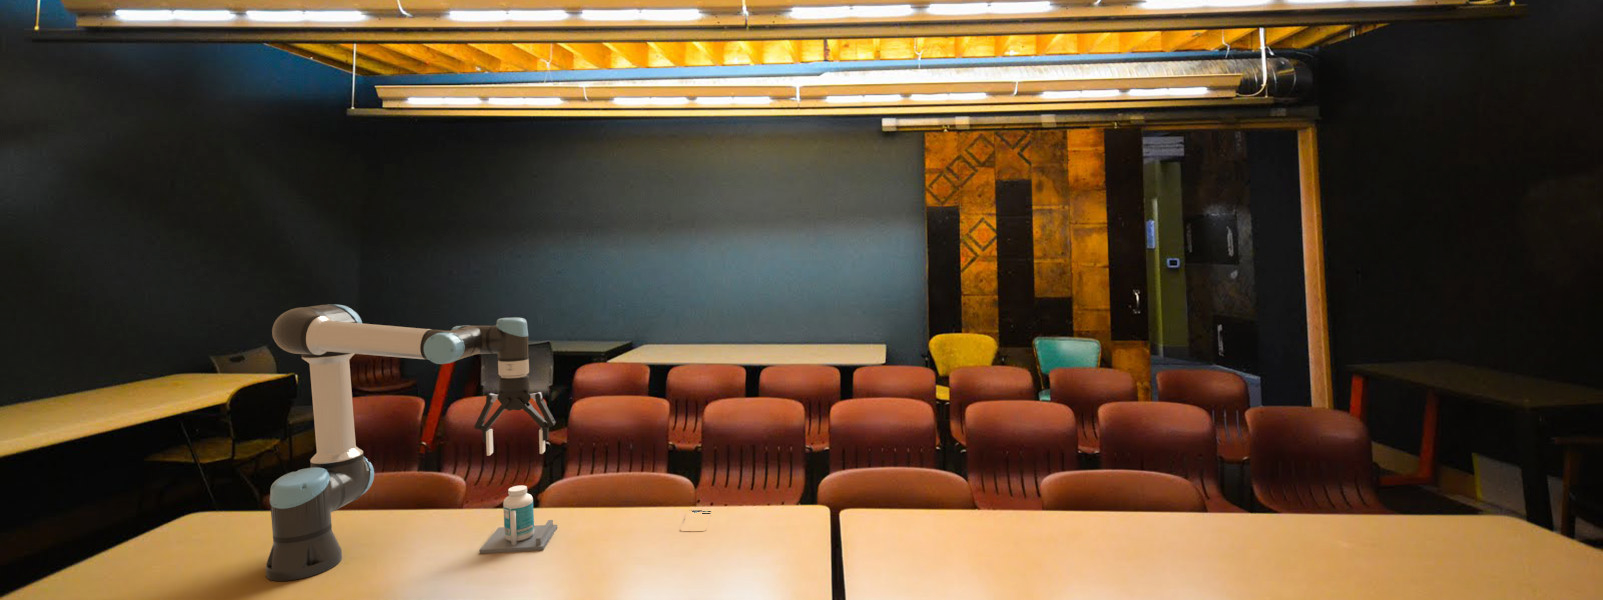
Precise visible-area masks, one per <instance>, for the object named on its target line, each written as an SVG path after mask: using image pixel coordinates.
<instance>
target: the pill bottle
mask: <svg viewBox="0 0 1603 600" xmlns="http://www.w3.org/2000/svg"><path fill="white" fill-rule="evenodd" d="M507 491H508V493H507V494H508V496H506V497H505V498H504V500H503V503H502V505H503V509H502V510H503V524H504V525H503V527H504V530H505V538H506V539H507V540H508V541H511V527H510V511H516V532H517V541H522V540H525V539H528V538H530V537H531V536H532V535H533V534H534V526H535V514H534V498H533V496H532V494H530V493H528V486H527V485H513V486H512V487H509V488H508V490H507Z"/></svg>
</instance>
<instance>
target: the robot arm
mask: <svg viewBox="0 0 1603 600" xmlns="http://www.w3.org/2000/svg"><path fill="white" fill-rule="evenodd" d="M272 325H273V326H272V329H271V332H272V334H271V335H272V339H273V340H274V343H276V345H277V346H278V347H279V348H280V349H282V350H283V351H285V352H287V353H291V354H296V355H297V354H298V355H300V356H301V359H302V360H304V361H305V362H307V363H308V364H309V373H310V375H309V376H310V384H311V397H312V409H313V420H314V423H313V424H314V433H315V434H314V435H315V447H316V448H315V449H316V453H315V454H314V455H313V456H312V457H311V458H310V459H309V461H310V462H309V463H310V467H307V468H302V469H298V470H297V471H291V472H287V473H285V474H283V475H282V476H280V477H279V478H277V479H276V480H275V481H274V482H273V483H272V484H271V486H270V491H269V492H270V495H269V504H270V514H271V515H270V516H271V517H270V518H271V527H272V529H271V530H272V546H271V549H270V552H269V556H268V559H267V561H266V565H265V577H266V578H267V579H268V580H270V581H274V582H275V581H276V582H287V581H296V580H300V579H305V578H309V577H313V576H317V575H319V574H322V573H324V572H326V571H329V570H330V569H333V568H334V567H335V566H337V565H338V564H339V563H341V561H342V559H343V551H342V548H341V546H340V544H339V542H338V540H337V537H336V535H335V534H334V532H333V527H332V513H334V512H335V511H336V510H339V509H340V508H342V507H344V506H346V505H348V504H350V503H352V502H354V501H357V500H358V499H359V498H360V497H362V495H364V494H366V493H367V492H368V490H369V489H370V488H371V486H372V485H373V483H374V479H375V468H374V466H373V464H372V463H371V461H368V460H369V459H368V458H366V456H364V450H362V449H361V448H359V447H358V446H357V445H356V433H355V431H356V429H355V419H354V406H353V405H354V403H353V392H352V380H351V377H352V376H351V368H350V367H351V365H350V361H351V359H352V357H353V356H354V355H366V356H367V355H369V356H377V357H378V356H380V357H381V356H382V357H391V358H392V357H393V358H405V359H414V360H415V359H418V360H429V361H430V362H431V363H432V364H433V363H434V364H436V365H445V364H451V363H455V362H456V361H459V360H462V359H464V358H465V359H466V358H468V357H471V356H474V355H484V354H487V355H488V354H489V355H490V354H493V355H494V354H497V367H498V368H497V369H498V370H497V371H498V376H499V378H498V394H495V393H494V392H490V393H488V394H487V395H486V397H485V403H484V406H483V408H482V410H481V412H480V414H479V416H478V418H477V421H476V422H475V425H474V427H473V428H474V429H476V430H479V431H481V433H482V434H481V435H482V442H483V443H485V445H486V456H489V457H490V456H491V455H492V454H493V453H494V434H493V433H494V432H493V431H494V429H493V428H491V426H492V425H493V424H494V423H495V422H496V421H497V419H498V418H499V417H500V416H501V414H502V413H503V412H504V411H505V410H507V411H509V412H511V411H521V410H523V411H524V412H526V413H527V414H528V415H529V417H530V418H532V420H533V421H534V422H535V423H536V424H537V425H538V426H539V427H540V429H539V430H538V440H539V441H538V444H539V454H540V455H543V454H544V453H545V452H546V441H548V440H549V435H550V433H549V432H550V430H549V428H552V427H553V426H555V424H556V422H557V421H556V420H555V418H554V416H553V414H552V412H551V410H550V409H549V407H548V406H547V404H546V402H545V401H544V397H543V396H544V395H543V392H542V391H538V392H536V393H535V392H534V393H531V391H530V390H531V389H530V388H531V387H530V376H529V373H530V364H529V363H530V362H529V361H530V359H529V330H528V322H527V319H525V318H523V317H502V318H498V319H497V320H496V324H495V325H470V324H465V325H456V326H453V327H452V328H451V330H444V329H443V330H442V329H431V328H419V327H417V328H416V327H408V326H407V327H406V326H397V325H396V326H395V325H383V324H374V323H373V324H370V323H363V321H362V318H361V317H360V315H359V314H358V312H356V311H355V310H353V309H352V308H350V307H349V306H347V305H344V304H343V305H342V304H329V303H327V304H320V305H313V306H312V305H311V306H306V307H296V308H291V309H289V310H287V311H285V312H283V313H282V314H280V315H279V316H278V317H277V318H276V319H275V321H274V323H273V324H272ZM531 399H533V401H534V402H535V403H536V405H537V407H538V409H539V410H540V412H541V414H542V415H541V414H540V412H538V411H537V410H536V408H534V407H533V405H532V403H530V401H531ZM496 401H498V402H499V403H500V405H499V406H498V408H497V409H496V411H495V412H494V413H493V414H492V415H491V416H490V418H489V419H487V421H486V418H487V416H488V415H489V413H490V410H491V409H492V407H493V405H494V403H495V402H496ZM485 421H486V423H485Z"/></svg>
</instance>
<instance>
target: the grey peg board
mask: <svg viewBox="0 0 1603 600" xmlns="http://www.w3.org/2000/svg"><path fill="white" fill-rule="evenodd" d="M510 527H511V541H508V540H507V539H506V538H505V530H504V526H501V527H498V528H496V530H495V531H494V532H493V533H492V535H491V536H490V537H489V538H488V539H487V541H486V542H485V543H484V544H483V545H482V546H481V548H480V549H479V554H497V553H498V554H499V553H514V552H515V553H516V552H532V551H544V550H545V548H546V547H547V545H548V543H549V542H550V540H551V539H552V538H553V535H555V534H554V532H556V531H557V529H558V524H554V520H553V519H549V520H547V522H546V523H545V524H544V525H543V524H542V525H534V534H533V535H532V536H531V537H530V538H528V539H525V540H522V541H517V532H516V511H510Z"/></svg>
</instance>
